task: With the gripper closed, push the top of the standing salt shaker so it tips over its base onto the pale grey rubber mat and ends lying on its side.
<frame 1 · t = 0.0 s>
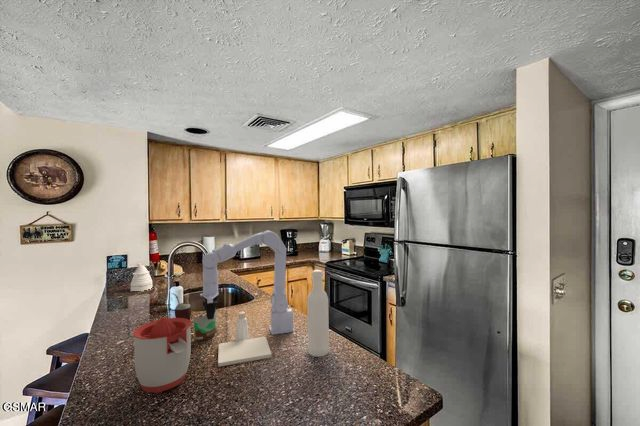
hand: (211, 315, 115), 10 cm above the countertop, tool pointing down, fingers open, 7 cm apart
mate gourd: (182, 321, 136), on the countertop
food container: (209, 337, 118), on the countertop
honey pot: (141, 289, 195), on the countertop
citrus juicer: (165, 383, 86), on the countertop
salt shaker: (242, 339, 115), on the countertop
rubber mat: (244, 351, 105), on the countertop
bottle: (318, 352, 104), on the countertop
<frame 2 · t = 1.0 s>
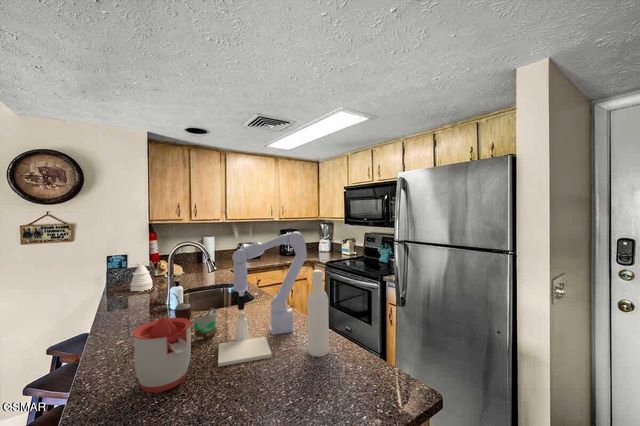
hand: (240, 308, 122), 10 cm above the countertop, tool pointing down, fingers open, 3 cm apart
nothing on the countertop moved.
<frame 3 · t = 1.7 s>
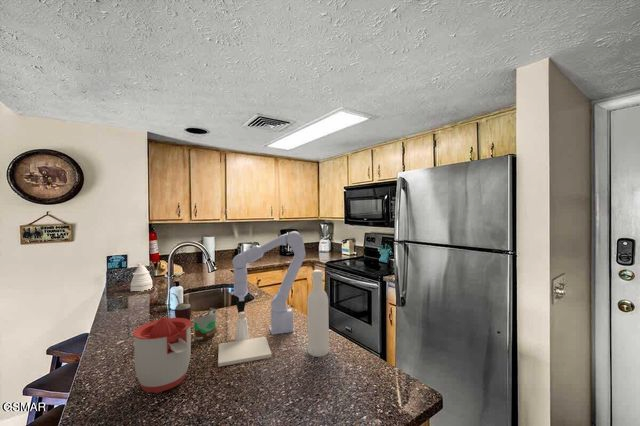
hand: (240, 313, 122), 8 cm above the countertop, tool pointing down, fingers closed
nothing on the countertop moved.
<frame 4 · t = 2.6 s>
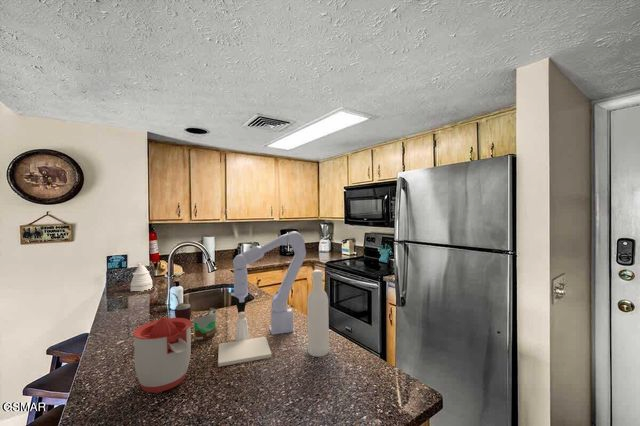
hand: (241, 314, 121), 8 cm above the countertop, tool pointing down, fingers closed
nothing on the countertop moved.
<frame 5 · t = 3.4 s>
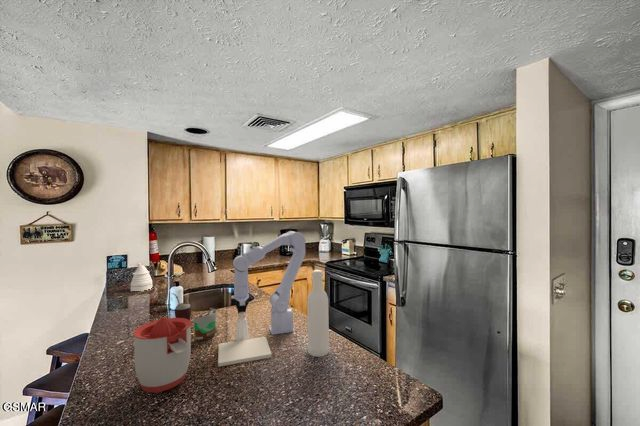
hand: (241, 317, 117), 8 cm above the countertop, tool pointing down, fingers closed
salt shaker: (242, 339, 115), on the countertop, touching gripper
everything else where it was.
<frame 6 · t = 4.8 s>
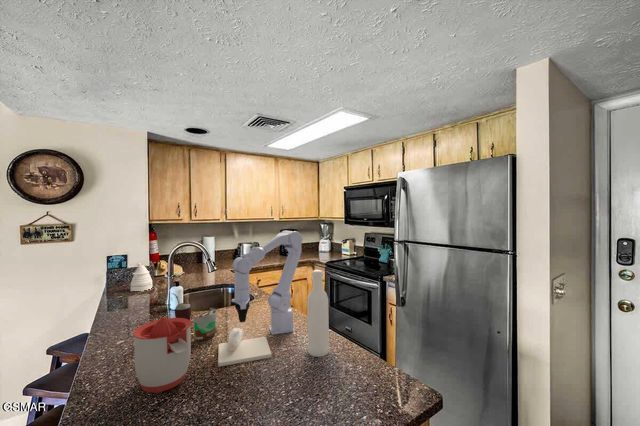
hand: (242, 321, 113), 8 cm above the countertop, tool pointing down, fingers closed
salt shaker: (236, 333, 113), point 3 cm above the countertop, touching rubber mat
everything else where it was.
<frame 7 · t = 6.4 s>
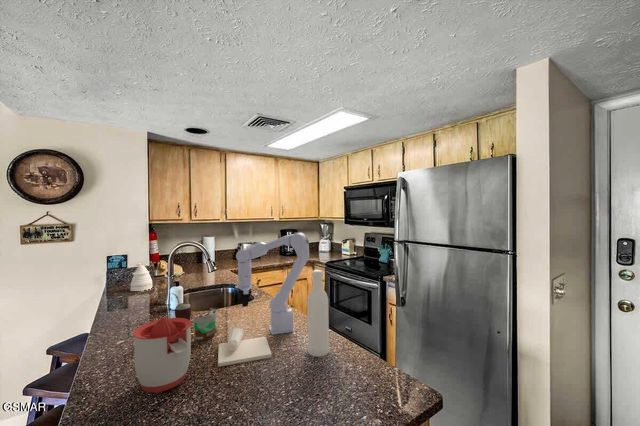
hand: (245, 306, 125), 10 cm above the countertop, tool pointing down, fingers closed
nothing on the countertop moved.
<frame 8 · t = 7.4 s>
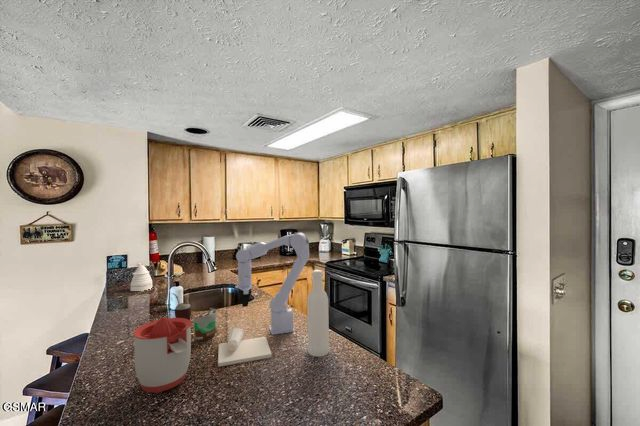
hand: (245, 306, 125), 10 cm above the countertop, tool pointing down, fingers closed
nothing on the countertop moved.
at the end: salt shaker tilted 92°; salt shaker touching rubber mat; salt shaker inside the target area (7.6 cm from its centre), point 3.3 cm above the countertop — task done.
